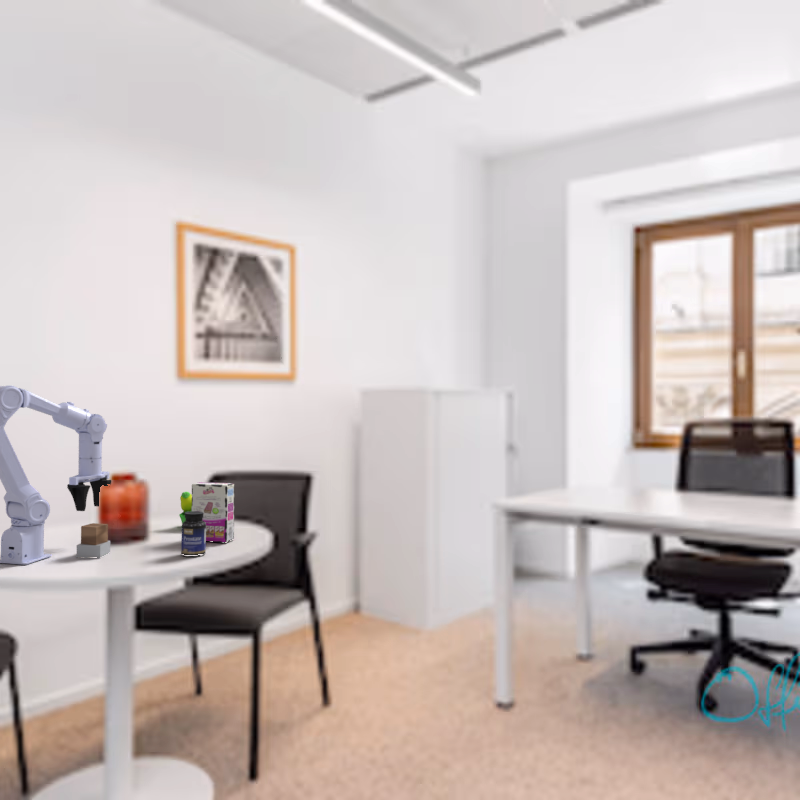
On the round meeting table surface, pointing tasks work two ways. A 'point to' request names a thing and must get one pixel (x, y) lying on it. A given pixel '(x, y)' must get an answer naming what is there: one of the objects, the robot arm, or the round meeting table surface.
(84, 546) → the grey block
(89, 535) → the walnut cube
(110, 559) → the round meeting table surface
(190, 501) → the yellow green toy
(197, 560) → the round meeting table surface
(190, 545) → the pill bottle
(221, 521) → the candy bar box
